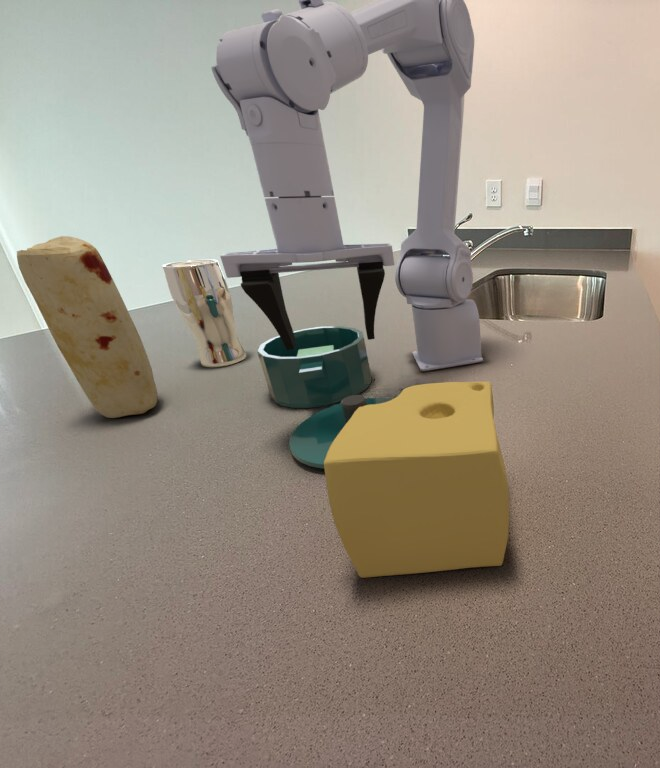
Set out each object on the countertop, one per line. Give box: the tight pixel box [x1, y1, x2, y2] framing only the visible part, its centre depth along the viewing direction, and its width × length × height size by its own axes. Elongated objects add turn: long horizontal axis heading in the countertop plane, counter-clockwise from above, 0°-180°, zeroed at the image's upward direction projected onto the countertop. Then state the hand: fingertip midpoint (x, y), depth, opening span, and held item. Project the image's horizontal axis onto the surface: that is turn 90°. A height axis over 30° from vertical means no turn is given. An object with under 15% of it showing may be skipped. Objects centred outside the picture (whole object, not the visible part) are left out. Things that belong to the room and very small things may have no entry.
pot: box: [256, 325, 372, 409], centre depth 54 cm, size 12×18×6 cm
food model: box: [16, 235, 159, 419], centre depth 46 cm, size 10×7×20 cm
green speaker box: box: [297, 345, 335, 357], centre depth 54 cm, size 5×4×4 cm
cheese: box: [323, 381, 510, 579], centre depth 30 cm, size 10×11×10 cm
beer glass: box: [162, 259, 247, 368], centre depth 61 cm, size 7×7×15 cm
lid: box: [288, 394, 394, 469], centre depth 43 cm, size 13×13×4 cm
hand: (332, 341), depth 42 cm, fingers open, 7 cm apart
